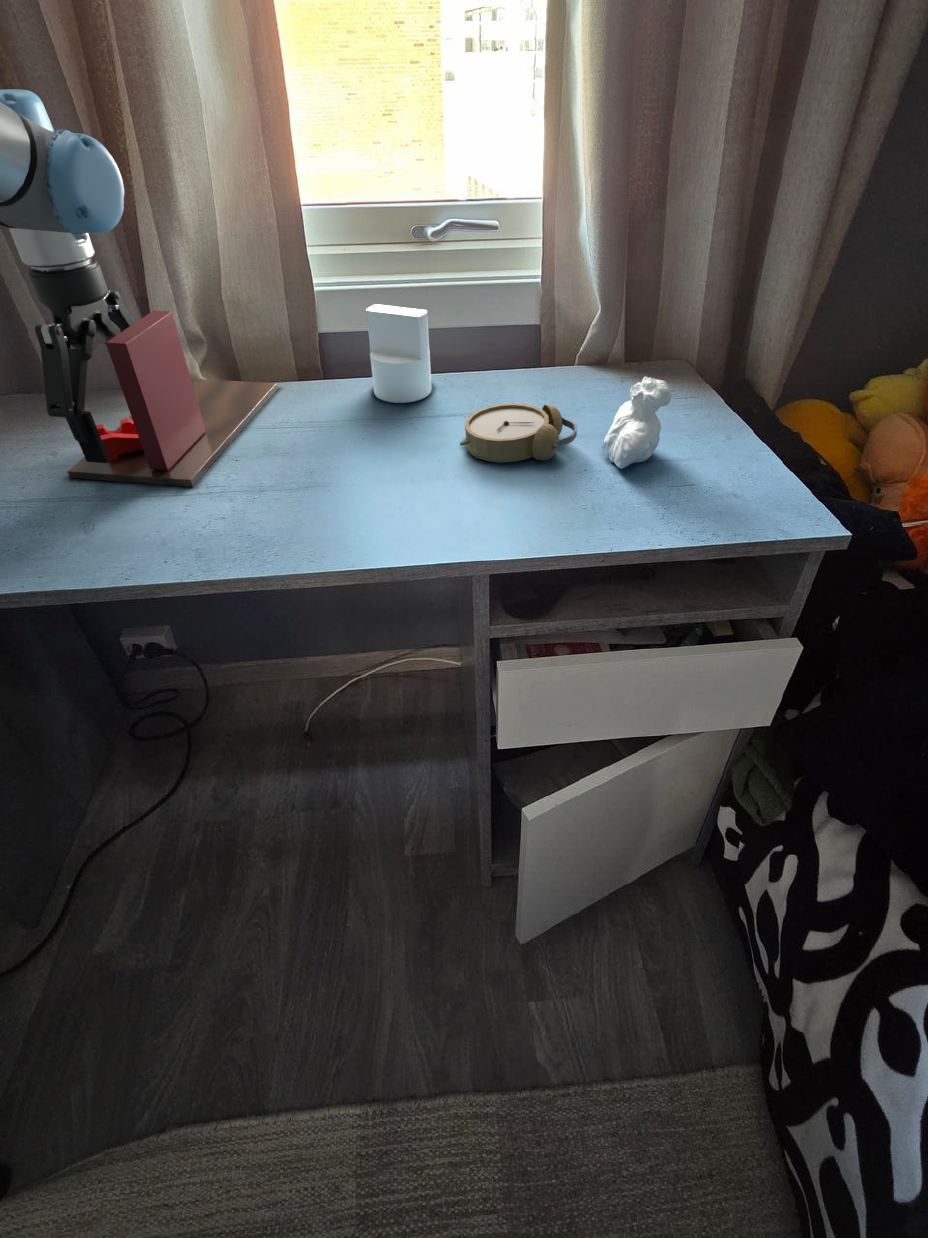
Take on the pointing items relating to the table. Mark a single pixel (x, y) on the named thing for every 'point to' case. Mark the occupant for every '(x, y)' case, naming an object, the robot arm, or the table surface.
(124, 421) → the bracket
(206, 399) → the stand
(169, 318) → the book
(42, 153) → the robot arm
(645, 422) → the white tied bag
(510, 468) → the table surface
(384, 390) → the cylinder with rectangular tab
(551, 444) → the alarm clock
